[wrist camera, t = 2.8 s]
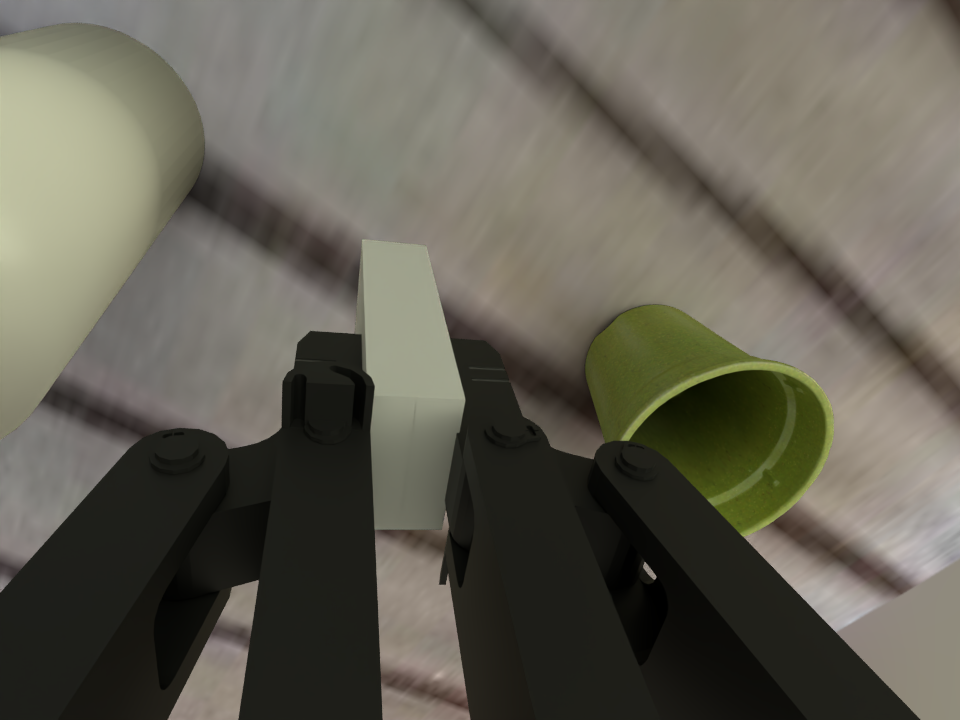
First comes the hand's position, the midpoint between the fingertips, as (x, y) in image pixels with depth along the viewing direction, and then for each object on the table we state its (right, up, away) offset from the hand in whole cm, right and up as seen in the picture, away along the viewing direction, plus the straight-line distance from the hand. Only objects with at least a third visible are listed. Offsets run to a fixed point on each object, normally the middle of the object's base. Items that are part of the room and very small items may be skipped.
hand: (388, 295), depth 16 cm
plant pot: (+10, -1, +18) cm, 21 cm away
